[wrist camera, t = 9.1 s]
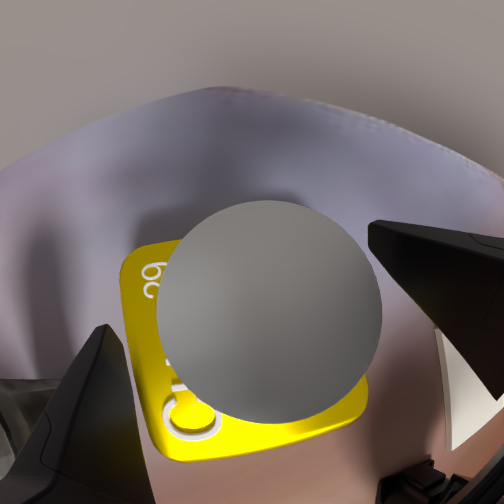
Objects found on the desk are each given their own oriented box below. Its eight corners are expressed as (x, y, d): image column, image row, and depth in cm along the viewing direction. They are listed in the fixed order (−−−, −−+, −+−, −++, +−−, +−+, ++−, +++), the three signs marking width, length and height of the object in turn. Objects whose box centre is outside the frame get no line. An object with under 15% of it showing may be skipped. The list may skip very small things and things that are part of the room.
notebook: (531, 370, 21) (536, 370, 20) (445, 449, 18) (451, 451, 17) (520, 278, 25) (525, 277, 24) (434, 329, 22) (440, 328, 21)
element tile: (349, 405, 20) (377, 418, 16) (168, 444, 18) (156, 469, 13) (311, 234, 24) (330, 211, 19) (133, 264, 22) (112, 247, 17)
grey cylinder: (296, 382, 16) (384, 409, 6) (194, 381, 15) (153, 419, 6) (295, 285, 18) (368, 208, 8) (197, 282, 17) (169, 196, 8)
